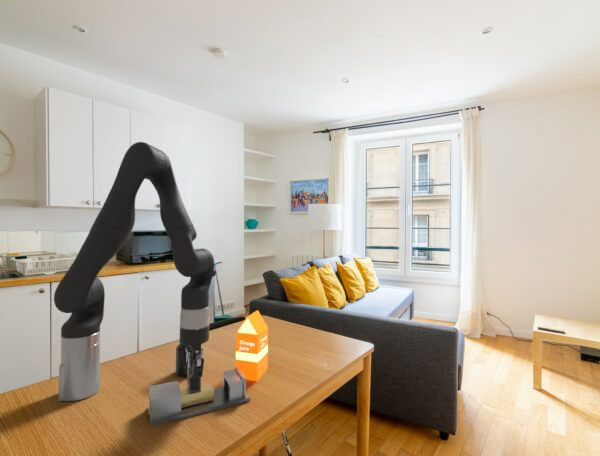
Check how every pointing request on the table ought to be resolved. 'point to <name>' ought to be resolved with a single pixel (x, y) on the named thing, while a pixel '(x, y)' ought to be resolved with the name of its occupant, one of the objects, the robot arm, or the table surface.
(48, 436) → the table surface
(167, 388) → the rail
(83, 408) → the table surface
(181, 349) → the supplement bottle
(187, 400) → the block
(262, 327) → the orange juice
